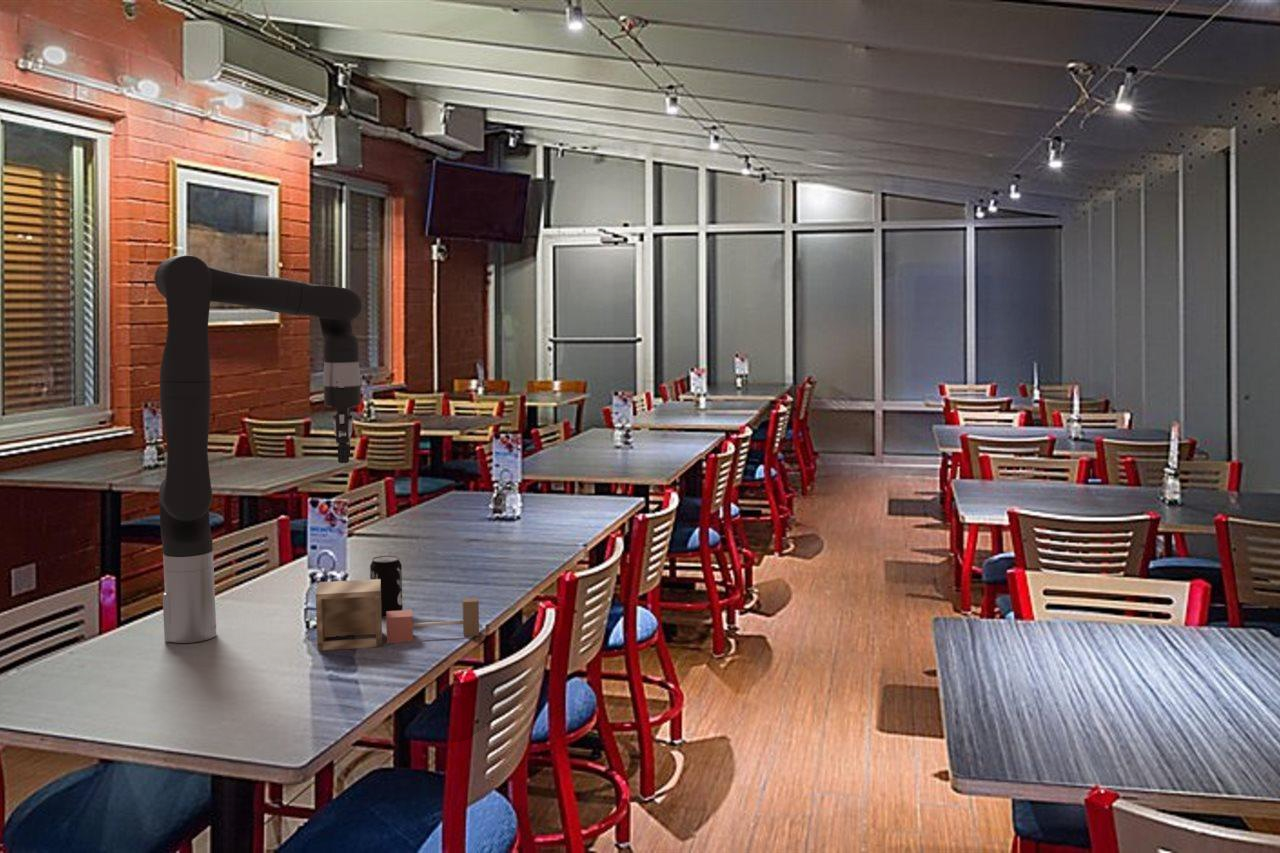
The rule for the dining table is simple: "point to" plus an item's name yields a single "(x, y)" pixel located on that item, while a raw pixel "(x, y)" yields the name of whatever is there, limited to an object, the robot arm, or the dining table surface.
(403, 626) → the corded block
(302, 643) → the dining table surface
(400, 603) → the beverage can
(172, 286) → the robot arm
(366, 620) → the oak shelf
